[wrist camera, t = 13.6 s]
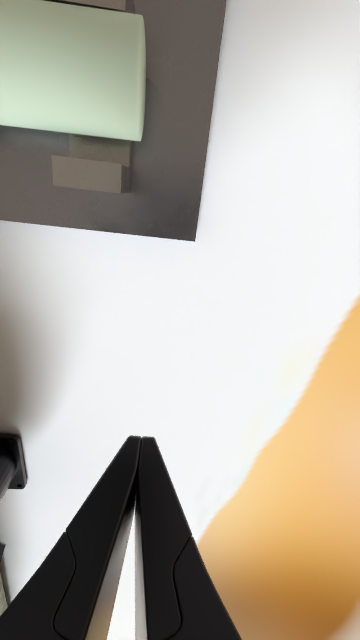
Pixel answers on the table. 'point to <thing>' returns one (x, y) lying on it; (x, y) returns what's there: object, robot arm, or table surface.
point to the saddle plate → (127, 155)
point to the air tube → (72, 69)
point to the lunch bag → (2, 598)
